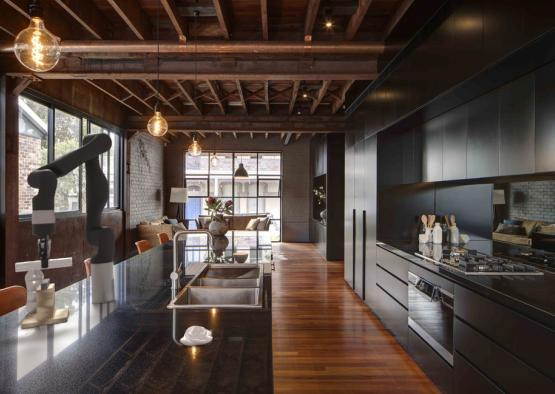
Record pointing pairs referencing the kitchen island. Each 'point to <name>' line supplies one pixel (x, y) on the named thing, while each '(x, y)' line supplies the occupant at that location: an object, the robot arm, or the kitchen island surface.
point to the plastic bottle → (33, 289)
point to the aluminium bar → (37, 264)
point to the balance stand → (45, 308)
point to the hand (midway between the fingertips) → (45, 267)
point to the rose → (196, 336)
